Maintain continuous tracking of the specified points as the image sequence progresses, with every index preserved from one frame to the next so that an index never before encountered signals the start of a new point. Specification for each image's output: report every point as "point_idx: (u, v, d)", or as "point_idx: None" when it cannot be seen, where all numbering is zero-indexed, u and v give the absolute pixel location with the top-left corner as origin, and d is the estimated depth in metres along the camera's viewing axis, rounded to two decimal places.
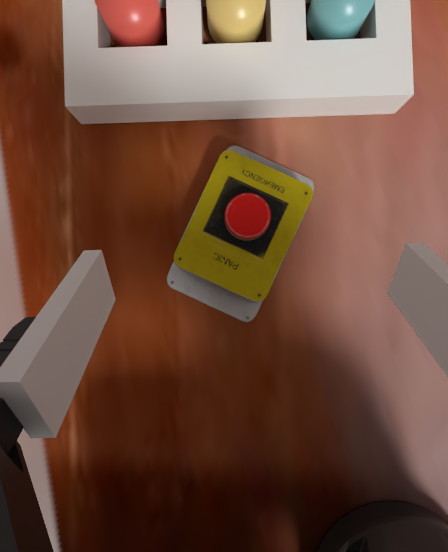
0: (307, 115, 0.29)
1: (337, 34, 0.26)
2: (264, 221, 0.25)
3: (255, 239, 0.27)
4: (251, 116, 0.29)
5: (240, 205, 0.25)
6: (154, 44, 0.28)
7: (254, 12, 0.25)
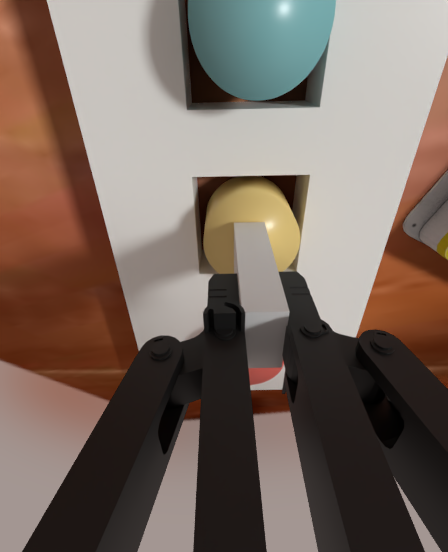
0: None
1: None
2: None
3: None
4: None
5: None
6: None
7: (294, 217, 0.15)
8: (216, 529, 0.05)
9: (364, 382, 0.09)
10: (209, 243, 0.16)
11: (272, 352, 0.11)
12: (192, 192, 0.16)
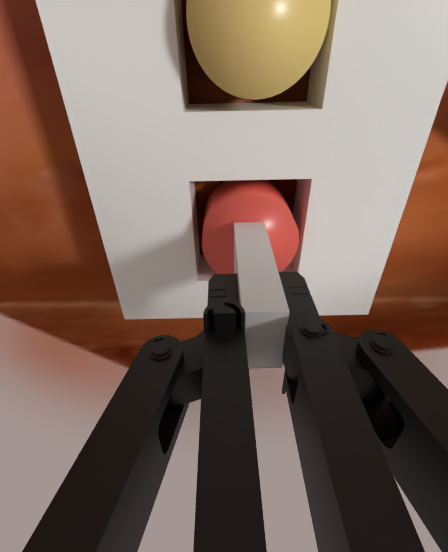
0: None
1: None
2: None
3: None
4: None
5: None
6: (279, 190, 0.18)
7: None
8: (216, 529, 0.05)
9: (364, 382, 0.09)
10: (195, 15, 0.11)
11: (272, 352, 0.11)
12: None
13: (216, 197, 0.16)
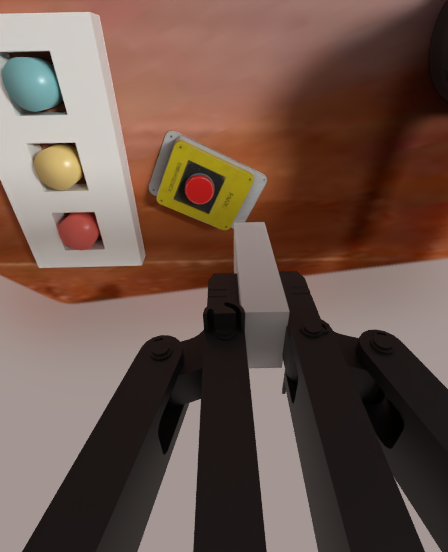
0: (116, 104, 0.37)
1: (59, 86, 0.35)
2: (202, 180, 0.39)
3: (213, 181, 0.41)
4: (124, 150, 0.40)
5: (193, 195, 0.40)
6: (94, 214, 0.45)
7: (68, 157, 0.37)
8: (216, 529, 0.05)
9: (364, 382, 0.09)
10: (37, 170, 0.38)
11: (272, 352, 0.11)
12: (28, 150, 0.38)
13: (66, 217, 0.44)
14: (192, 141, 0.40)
